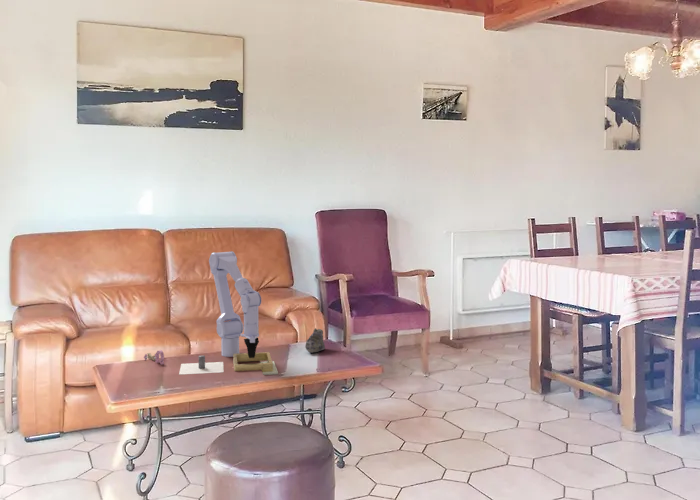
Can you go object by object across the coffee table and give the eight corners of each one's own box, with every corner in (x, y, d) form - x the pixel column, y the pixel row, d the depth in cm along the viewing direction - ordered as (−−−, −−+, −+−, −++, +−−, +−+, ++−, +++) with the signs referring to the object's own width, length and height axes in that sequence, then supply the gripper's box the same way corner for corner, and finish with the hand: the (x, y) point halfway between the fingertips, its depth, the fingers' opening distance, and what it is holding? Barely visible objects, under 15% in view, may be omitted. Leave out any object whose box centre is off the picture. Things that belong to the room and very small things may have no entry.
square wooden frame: (233, 361, 257) (233, 353, 257) (269, 359, 260) (269, 352, 260) (234, 373, 244) (234, 365, 243) (272, 371, 247) (272, 363, 246)
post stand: (181, 367, 254) (181, 352, 254) (223, 365, 257) (223, 350, 257) (179, 378, 239) (178, 362, 238) (223, 376, 242) (223, 360, 241)
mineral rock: (308, 356, 274) (308, 332, 273) (294, 351, 282) (294, 328, 281) (333, 351, 282) (333, 328, 281) (318, 347, 290) (318, 325, 290)
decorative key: (145, 366, 269) (165, 367, 253) (142, 366, 268) (162, 368, 252) (144, 349, 269) (163, 350, 253) (141, 350, 268) (160, 350, 253)
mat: (228, 364, 259) (228, 363, 259) (273, 362, 262) (273, 361, 262) (229, 376, 241) (229, 375, 241) (277, 374, 245) (277, 372, 245)
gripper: (240, 320, 263) (240, 353, 264) (241, 327, 249) (242, 362, 250) (257, 319, 265) (258, 352, 266) (260, 326, 250) (260, 361, 251)
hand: (251, 357), depth 258 cm, fingers closed on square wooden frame
